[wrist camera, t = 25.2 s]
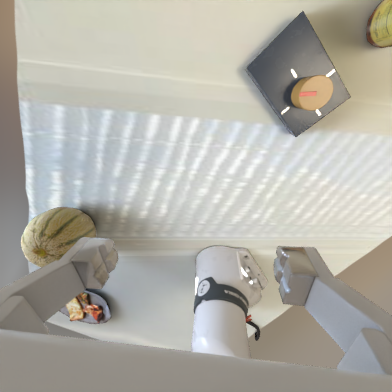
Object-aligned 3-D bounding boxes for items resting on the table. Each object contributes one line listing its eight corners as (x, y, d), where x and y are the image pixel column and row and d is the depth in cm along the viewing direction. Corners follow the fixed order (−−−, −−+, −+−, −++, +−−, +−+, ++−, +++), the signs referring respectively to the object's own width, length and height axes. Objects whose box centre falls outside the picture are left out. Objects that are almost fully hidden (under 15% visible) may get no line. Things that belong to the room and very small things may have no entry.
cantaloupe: (65, 237, 57) (19, 280, 44) (47, 194, 49) (-15, 232, 36) (112, 241, 55) (78, 288, 42) (99, 198, 48) (54, 238, 35)
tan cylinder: (325, 75, 28) (339, 73, 24) (317, 108, 30) (329, 110, 27) (294, 77, 28) (303, 75, 25) (288, 109, 30) (296, 111, 27)
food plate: (117, 322, 79) (113, 331, 76) (65, 314, 81) (59, 323, 78) (105, 284, 66) (99, 294, 63) (44, 276, 68) (36, 285, 65)
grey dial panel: (340, 96, 31) (351, 97, 29) (290, 134, 35) (296, 137, 32) (295, 17, 27) (303, 9, 25) (244, 69, 31) (246, 67, 28)
